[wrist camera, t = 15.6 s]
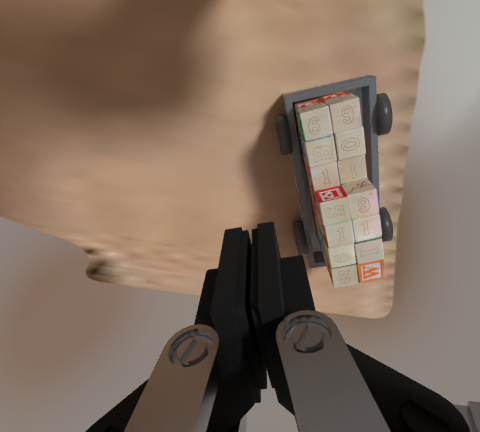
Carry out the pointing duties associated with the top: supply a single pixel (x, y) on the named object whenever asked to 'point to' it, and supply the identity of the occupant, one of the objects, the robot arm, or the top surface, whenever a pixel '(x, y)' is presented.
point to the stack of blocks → (341, 187)
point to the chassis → (374, 123)
